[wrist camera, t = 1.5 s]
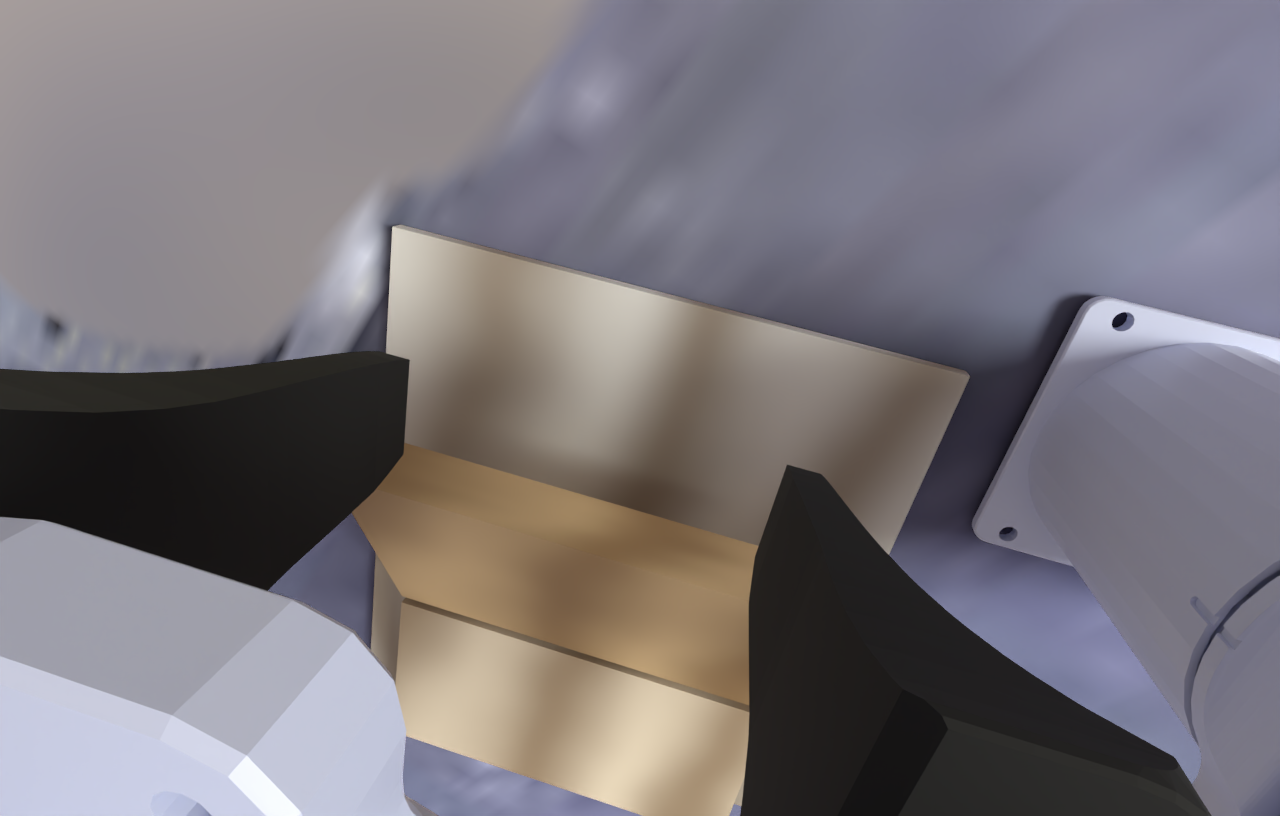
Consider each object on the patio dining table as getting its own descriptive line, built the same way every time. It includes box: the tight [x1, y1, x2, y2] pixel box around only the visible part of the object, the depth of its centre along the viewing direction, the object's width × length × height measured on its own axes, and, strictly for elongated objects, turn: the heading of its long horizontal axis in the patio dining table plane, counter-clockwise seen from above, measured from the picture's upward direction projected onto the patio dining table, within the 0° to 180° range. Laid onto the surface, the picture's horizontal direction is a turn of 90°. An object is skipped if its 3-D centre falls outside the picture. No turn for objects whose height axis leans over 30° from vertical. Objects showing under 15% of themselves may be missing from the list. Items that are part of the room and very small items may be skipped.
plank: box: [352, 443, 758, 705], centre depth 20 cm, size 14×9×2 cm
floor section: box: [371, 225, 970, 816], centre depth 23 cm, size 18×20×2 cm
